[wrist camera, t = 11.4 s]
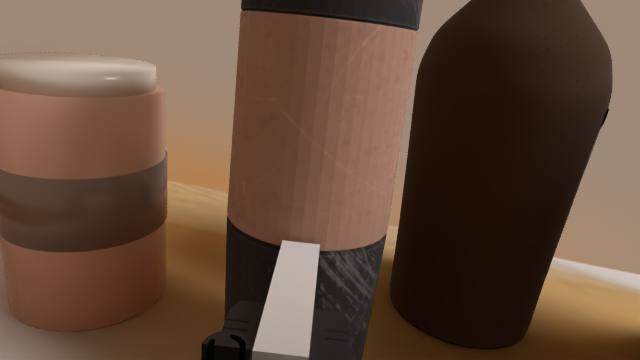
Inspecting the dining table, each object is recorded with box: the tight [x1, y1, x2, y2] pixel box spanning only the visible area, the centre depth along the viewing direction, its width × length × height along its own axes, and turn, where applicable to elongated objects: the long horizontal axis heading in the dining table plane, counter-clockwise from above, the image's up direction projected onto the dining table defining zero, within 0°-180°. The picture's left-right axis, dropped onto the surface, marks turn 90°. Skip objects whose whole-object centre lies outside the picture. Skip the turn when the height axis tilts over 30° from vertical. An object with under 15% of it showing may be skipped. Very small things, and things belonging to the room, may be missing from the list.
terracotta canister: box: [0, 52, 167, 332], centre depth 28 cm, size 9×9×14 cm
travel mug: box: [225, 0, 423, 360], centre depth 22 cm, size 8×8×20 cm
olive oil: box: [390, 0, 612, 348], centre depth 28 cm, size 11×11×25 cm
